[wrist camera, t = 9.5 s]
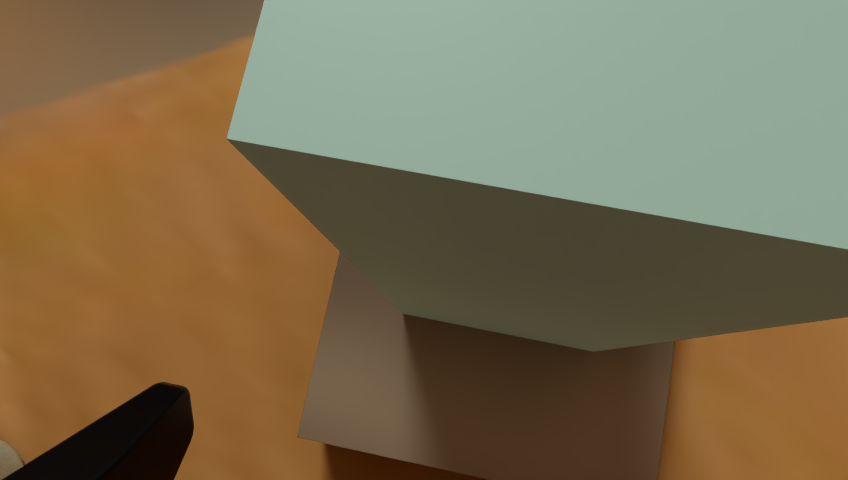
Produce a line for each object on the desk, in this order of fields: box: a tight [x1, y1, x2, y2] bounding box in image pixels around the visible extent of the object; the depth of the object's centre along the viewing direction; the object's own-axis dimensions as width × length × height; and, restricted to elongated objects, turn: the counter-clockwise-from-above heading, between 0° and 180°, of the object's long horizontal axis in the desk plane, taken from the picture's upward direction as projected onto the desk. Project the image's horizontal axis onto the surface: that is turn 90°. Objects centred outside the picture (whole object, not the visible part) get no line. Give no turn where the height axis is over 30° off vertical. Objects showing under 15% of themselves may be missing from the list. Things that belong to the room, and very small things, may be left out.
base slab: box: [297, 252, 675, 480], centre depth 18 cm, size 9×9×3 cm
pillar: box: [227, 0, 848, 352], centre depth 11 cm, size 5×5×13 cm
